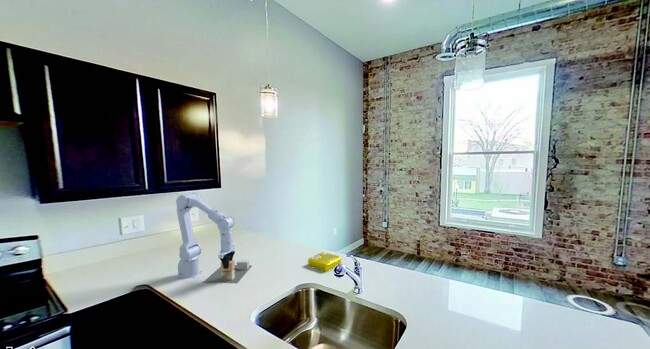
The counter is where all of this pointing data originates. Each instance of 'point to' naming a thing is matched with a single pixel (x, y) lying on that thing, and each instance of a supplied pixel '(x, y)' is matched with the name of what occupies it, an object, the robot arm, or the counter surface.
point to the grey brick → (243, 264)
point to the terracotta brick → (231, 266)
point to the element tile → (324, 261)
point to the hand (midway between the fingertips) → (227, 267)
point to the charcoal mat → (217, 279)
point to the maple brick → (227, 275)
